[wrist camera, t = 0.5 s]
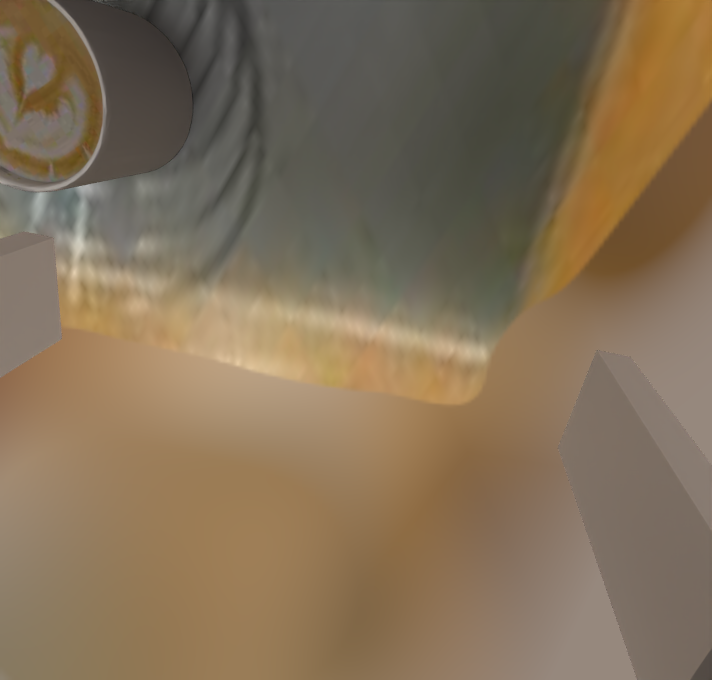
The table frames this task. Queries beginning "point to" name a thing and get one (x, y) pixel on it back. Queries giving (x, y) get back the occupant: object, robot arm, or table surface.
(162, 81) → the coffee mug
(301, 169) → the table surface
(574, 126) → the table surface
